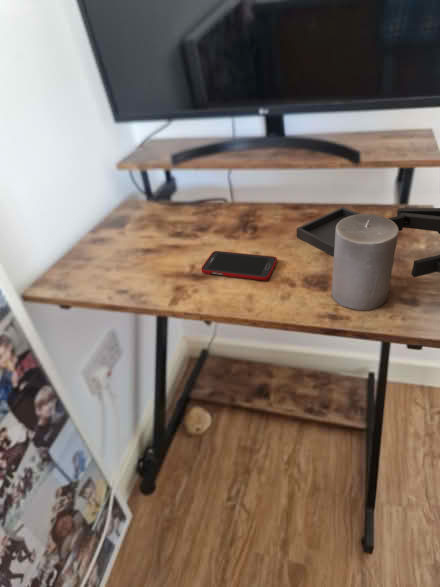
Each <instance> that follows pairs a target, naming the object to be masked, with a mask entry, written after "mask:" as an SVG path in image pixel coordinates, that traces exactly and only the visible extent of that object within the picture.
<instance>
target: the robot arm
mask: <svg viewBox="0 0 440 587" xmlns="http://www.w3.org/2000/svg"><path fill="white" fill-rule="evenodd" d="M388 219H390V220H392V221H393V222H394V223H395V224H396V225H397V226H398V230H399V231H398V232H400V231H403V228H405V229H414V230H419V231H421V230H422V231H431V232H437V234H439V235H440V207H399V208H397V212H396V215H395V216H391V217H388ZM433 273H438V274H440V254H436V255H432V256H427V257H424V258H419V259H415V260H413V264H412V270H411V274H410V275H411V276H412V277H413V278H417V277H418V278H419V277H422V276H427V275H429V274H433Z"/></svg>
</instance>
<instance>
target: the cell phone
mask: <svg viewBox="0 0 440 587" xmlns="http://www.w3.org/2000/svg"><path fill="white" fill-rule="evenodd" d="M277 263H278V258H277V257H276V256H273V255H272V256H271V255H261V254H254V253H253V254H252V253H243V252H233V251H222V250H214V251H213V252H211V254H210V255H209V256H208V258H207V259H206V261H205V262H204V263H203V265H201V266H202V267H201V269H200V270H201V273H202V274H207V275H218V276H223V277H230V278H231V277H232V278H238V279H239V278H240V279H247V280H248V279H249V280H255V281H268V280H269V279H270V278H271V277H272V274H273V270H274V269H275V267H276V265H277Z"/></svg>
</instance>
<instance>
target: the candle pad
mask: <svg viewBox="0 0 440 587" xmlns="http://www.w3.org/2000/svg"><path fill="white" fill-rule="evenodd" d="M357 214H360V213H359V212H356V211H353V210H352V209H348V208H347V207H344V206H341V207H339V208H337V209H335V210H333V211H331V212H329V213H327V214H324V215H322V216H320V217H318V218H315V219H313V220H311V221H309V222H307V223H305V224H303V225H301V226H298V227H296V238H297V239H300V240H301V241H303V242H305V243H307V244H309V245H310V246H313V247H314V248H316V249H317V250H321V252H324V253H326V254H328V255H329V256H331V257H333V258H334V247H335V232H336V225H337V224H338V222H339V221H340V220H342V219H344V218H346V217H348V216H352V215H357Z"/></svg>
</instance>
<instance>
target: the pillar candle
mask: <svg viewBox="0 0 440 587" xmlns="http://www.w3.org/2000/svg"><path fill="white" fill-rule="evenodd" d="M388 218H389V217H388ZM388 218H387V217H385V216H384V215H383V216H382V215H378V214H371V213H359V214H357V215H352V216H348V217H346V218H344V219H342V220H340V221H339V222H338V224H337V225H336V232H335V247H334V257H333V263H332V264H333V265H332V277H331V278H332V280H331V296H332V298H333V300H334V301H335V302H336V303H337V304H338V305H340V306H341V307H345V308H349V309H352V310H357V311H365V312H366V311H371V310H377V309H378V308H379V307H381V306H383V305H384V304H385V303H386V301H387V300H388V297H389V292H390V286H391V279H392V272H393V267H394V261H395V254H396V250H397V249H396V248H397V244H398V236H399V232H400V231H399V230H398V226H397V225H396V224H395V223H394V222H393V221H392V220H390V219H388Z"/></svg>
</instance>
